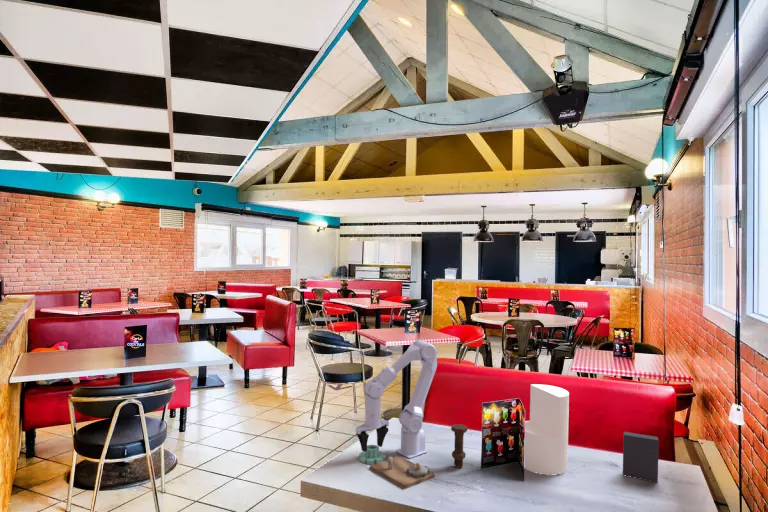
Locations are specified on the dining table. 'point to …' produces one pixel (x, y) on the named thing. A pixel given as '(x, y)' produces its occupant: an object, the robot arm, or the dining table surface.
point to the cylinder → (547, 430)
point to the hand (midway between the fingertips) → (372, 448)
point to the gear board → (402, 471)
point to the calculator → (640, 456)
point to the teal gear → (372, 455)
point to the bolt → (458, 444)
